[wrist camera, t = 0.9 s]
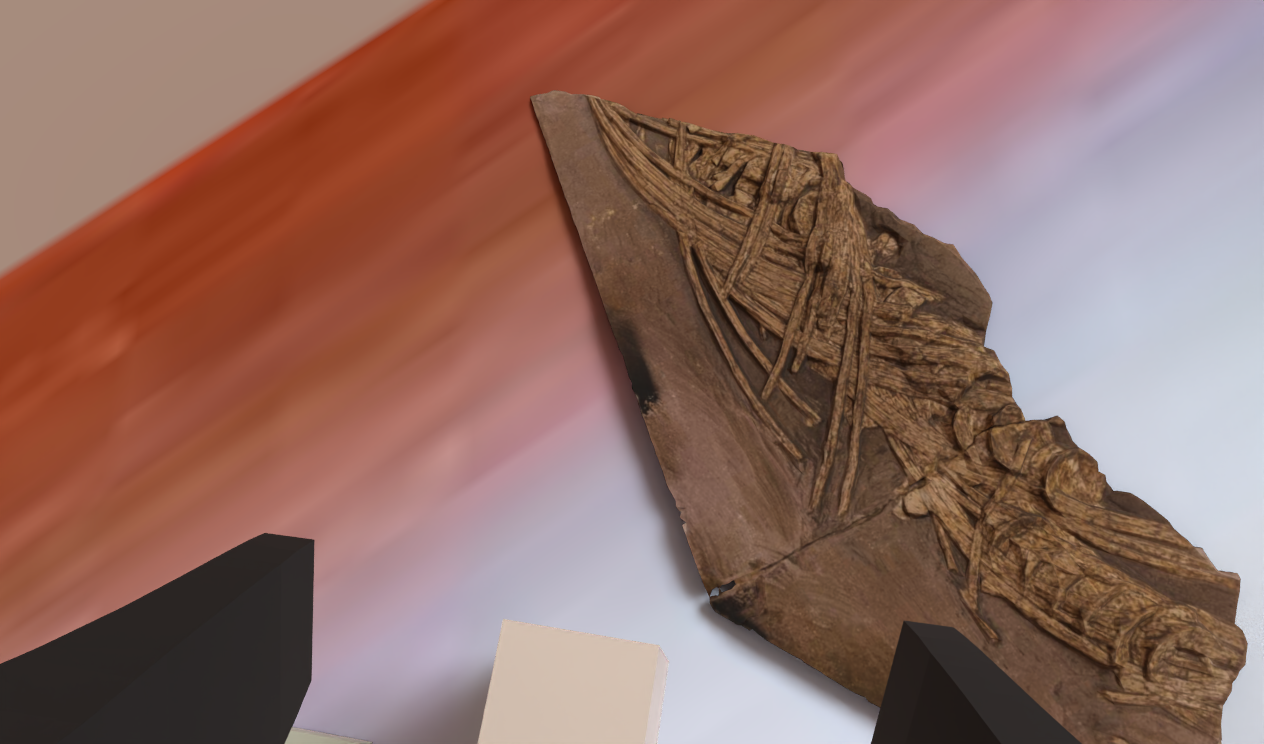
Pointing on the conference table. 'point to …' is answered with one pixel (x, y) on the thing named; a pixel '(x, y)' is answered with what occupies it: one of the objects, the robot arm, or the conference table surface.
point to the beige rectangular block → (573, 688)
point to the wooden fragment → (874, 436)
